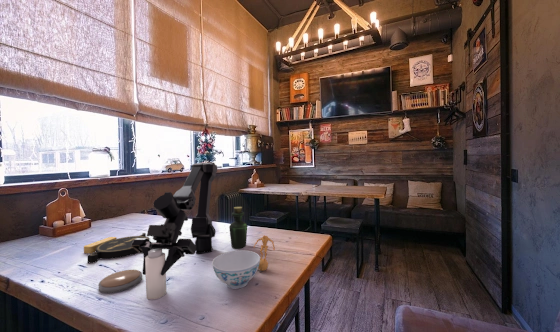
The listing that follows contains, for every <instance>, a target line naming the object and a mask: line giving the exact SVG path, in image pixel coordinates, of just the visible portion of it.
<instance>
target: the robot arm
mask: <svg viewBox="0 0 560 332" xmlns="http://www.w3.org/2000/svg"><path fill="white" fill-rule="evenodd" d="M215 163H216V162H199V163H197V162H195V163H192V165H191V170H190V171H189V173H188V176H187V177H186V180H185V182H184V183H183V186H182V187H181V188H180V189H178V190H176V192H175V193H174V194H173V193H172V192H171V191H165V192H164V194H162V195H160V196H158V197H157V198H156V199H155V200H154V201H153V208H154V209H155V210H156V211H157V212H158V213H159V214H160V216H161V217H162V218H163V219H165V220H164V223H163V224H149V225H148V230H147V233H146V237H152V240H154V241H156V242H154V241H151V239H149V240H148V239H147V238H137V239H134V241H133V242H132V244H131V247H133V248H134V249H135V250H136V251H138V252H139V253H138V254H142V255H143V263H142V276H143V275H144V276H146V268H145V257H146V256H148V252H149V251H150V250H153V249H162V250H167V251H168V252H167V256H166V257H165V263H164V266H163V268H162V271H161V275H164V274H165V273H166V274H167V272H168V271H169V270H170V269H171V267H172V266H174V264H176V262H178V261H180V259H182V258H184V257H185V255H192V256H193V255H195V254H197V255H198V254H205V253H212V252H213V244H212V243H213V239H212V238H215V237H216V228H215V226H214V225H213V219H212V217H211V216H210V208H211V207H210V204H211V194H212V184H213V183H212V182H213V181H214V180H215V178H216V176H217V173H218V165H217V164H215ZM198 187H199V195H198V202H197V203H198V204H197V205H198V206H197V212H196V215H195V216H194V217H192V219H191V224H190V225H191V226H190V233H191V237H192V238H179V236H182V234H183V232H182V229H183V226H184V223H185V222H187V221H189V218H188V216H187V213H186V212H185V211H191V210H192V209H194V207H195V205H196V195H195V193H196V191H197V188H198ZM192 239H195V240H194V242H193V240H192Z"/></svg>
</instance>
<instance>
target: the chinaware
mask: <svg viewBox="0 0 560 332" xmlns="http://www.w3.org/2000/svg"><path fill="white" fill-rule="evenodd" d="M260 258H261V256H260V255H259V254H258V253H257V252H255V251H252V250H244V249H243V250H242V249H236V250H231V251H227V252H223V253H221V254H218V255H217V256H215V257H214V258H213V260H212V262H211V266H212V269H213V272H214V274H215V276H216V278H217V279H218V280H219V281H220V282H222V283H223V284H224V285H226V287H227V288H229V289H231V290H232V289H233V290H238V289H242V288H244V287H245V286H247V285H248V283H249V281H251V280H252V279H253V277H254V276H255V275H256V273H257V271H258V270H259V269H258V267H259V263H260Z"/></svg>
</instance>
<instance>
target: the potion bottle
mask: <svg viewBox="0 0 560 332" xmlns="http://www.w3.org/2000/svg"><path fill="white" fill-rule="evenodd" d="M243 216H245V212H244V211H243V206H234V207H233V212H232V213H231V217H233V218H234V221H233V222H231V223H230V224H229V236H230V244H231V249H234V250H242V249H245V248H246V247H247V237H248V235H247V234H248V224H247V223H246V222H245V221H243V220H242V219H243Z"/></svg>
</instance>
